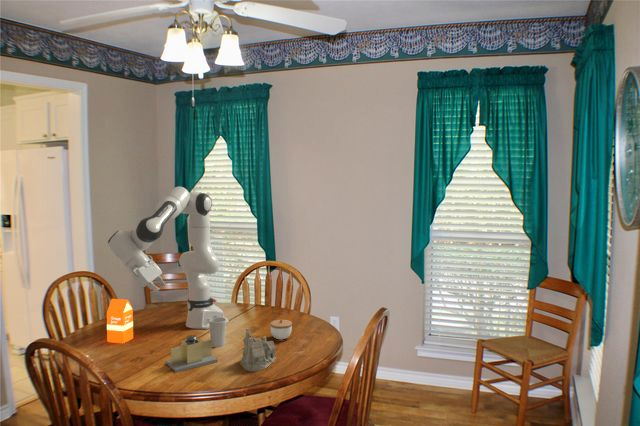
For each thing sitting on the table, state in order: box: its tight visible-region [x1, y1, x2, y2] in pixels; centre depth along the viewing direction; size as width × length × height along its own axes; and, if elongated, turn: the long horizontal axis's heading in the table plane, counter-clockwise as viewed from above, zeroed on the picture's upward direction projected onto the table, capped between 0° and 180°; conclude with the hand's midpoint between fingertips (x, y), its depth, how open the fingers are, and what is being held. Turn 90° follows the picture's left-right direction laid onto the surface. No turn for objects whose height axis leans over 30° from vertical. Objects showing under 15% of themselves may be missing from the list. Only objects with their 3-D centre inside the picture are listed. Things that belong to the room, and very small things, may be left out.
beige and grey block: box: [170, 337, 213, 365], centre depth 193 cm, size 18×7×8 cm, turn 128°
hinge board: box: [165, 355, 218, 373], centre depth 194 cm, size 18×11×1 cm, turn 128°
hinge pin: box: [186, 335, 197, 344], centre depth 193 cm, size 4×4×10 cm
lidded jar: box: [269, 319, 293, 340], centre depth 225 cm, size 11×11×9 cm
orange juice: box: [106, 298, 134, 344], centre depth 219 cm, size 8×9×20 cm
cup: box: [209, 317, 227, 348], centre depth 215 cm, size 8×8×12 cm
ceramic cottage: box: [240, 327, 277, 373], centre depth 195 cm, size 16×16×15 cm
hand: (160, 288), depth 193 cm, fingers open, 8 cm apart
